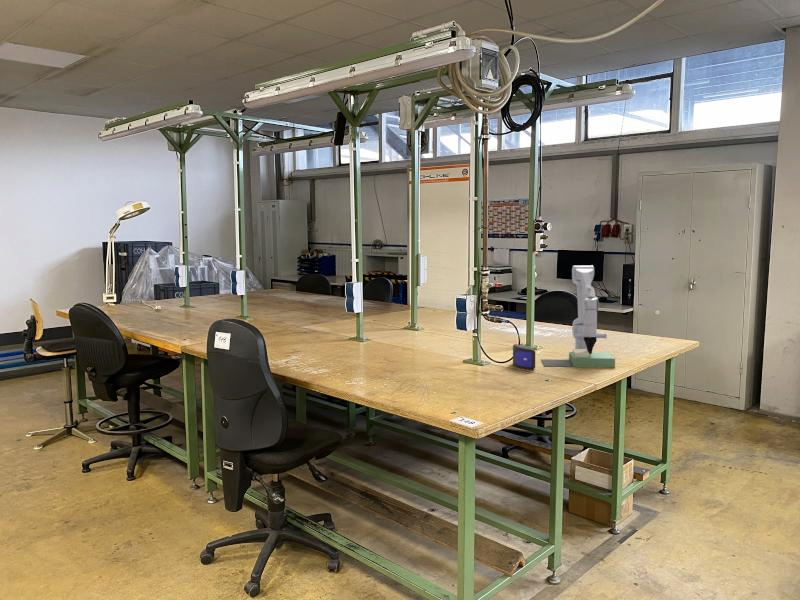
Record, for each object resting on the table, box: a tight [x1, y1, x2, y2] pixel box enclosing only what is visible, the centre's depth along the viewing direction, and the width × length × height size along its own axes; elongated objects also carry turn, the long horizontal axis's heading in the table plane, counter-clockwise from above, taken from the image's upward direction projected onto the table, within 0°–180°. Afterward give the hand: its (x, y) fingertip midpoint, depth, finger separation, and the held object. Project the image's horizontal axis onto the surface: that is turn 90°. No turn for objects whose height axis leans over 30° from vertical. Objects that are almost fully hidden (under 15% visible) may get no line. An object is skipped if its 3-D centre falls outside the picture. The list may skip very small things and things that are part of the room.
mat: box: [540, 358, 574, 368], centre depth 283 cm, size 14×13×1 cm
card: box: [572, 348, 589, 357], centre depth 281 cm, size 9×6×2 cm, turn 173°
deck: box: [568, 351, 616, 368], centre depth 281 cm, size 14×18×4 cm
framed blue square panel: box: [512, 343, 536, 371], centre depth 277 cm, size 16×5×9 cm, turn 22°
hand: (589, 353), depth 281 cm, fingers closed
